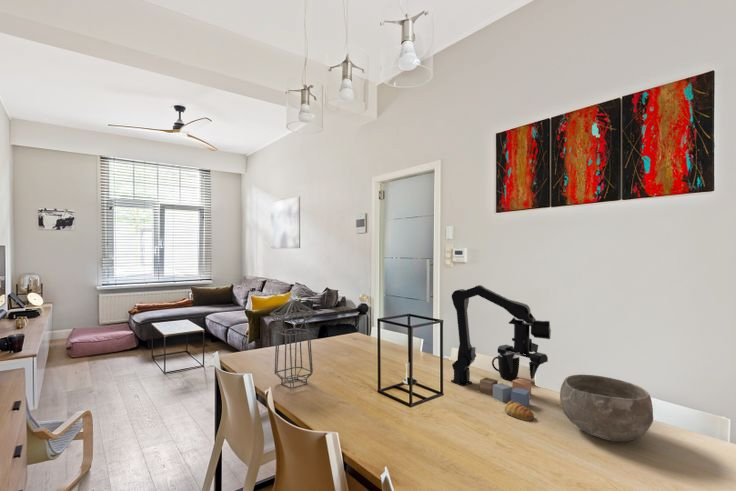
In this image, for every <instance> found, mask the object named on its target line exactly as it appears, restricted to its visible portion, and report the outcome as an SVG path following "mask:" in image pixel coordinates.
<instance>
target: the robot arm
mask: <svg viewBox="0 0 736 491" xmlns="http://www.w3.org/2000/svg"><path fill="white" fill-rule="evenodd" d="M476 296H479V297H481V298H483V299H485V300H487V301H488V302H491V303H493V304H495V305H496V306H499V307H501V308H503V309H504V310H506V311H507V312H508V313H509V314H510V315H511V316H513V318H512V319H511V320H510V321H508V324H510V325H513V337H512V338H511V341H512V342H513V346H512V345H509V344H503V345H499V346H498V347H497V353H498V354H499V353H500V356H502V357H503V359H504V361H505V363H506V365H507V367H508V369H509V371H510V372H512V371H513V357H514V354H516V355H519V357H524V358H527V359H528V358H529V361H530V362H528V365H529V375H530V379H531V380H533V379H534V378H535V376H536V373H537V370H538V368H539V367H540V365H542V364H544V363H547V362H549V361H548V356H547V354H546V353H543V352H542V353H541V352H538V349H539V344H537V343H535V342H533V340H532V338H530V337H531V336H530V335H532V337H533V338H534V339H536V338H537V339H542V340H543V339H545V340H550V339H551V332H552V329H551V325H550V323H551V321H550V320H537V319H536V318H535V317H534V315H533V314H532V312H531V307H530V306H529V305H528V304H527V303H526V304H525V303H524V302H519V301H516V300H512V299H509V298H507V297H505V296H502V295H500V293H499V294H498V293H496V292H495V291H492V290H490V289H488V288H487V287H485V286H483V285H481V284H479V285H476V286H473V287H470V288H468V289H464V288H463V289H461V288H460V289H456V290H454V291H453V292H452V294H451V300H452V304H453V306H454V308H455V311H456V319H457V329H458V339H459V340H458V341H459V345H458V349H457V350H458V351H457V359H456V360H455V361H454V362H453V363H452V369H453V379H451V380H450V382H452V383H454V384H457V385H460V386H465V385H469V384H473V381H471V379H470V375H471V374H470V373H471V371H470V366H471V364H472V363H474V362H475V360H476V357H477V354H476V346H474V347H473V346H472V344H471V337H470V328H469V327H470V326H469V319H468V317H469V316H468V308H469V302H470V299H471V298H473V297H476Z"/></svg>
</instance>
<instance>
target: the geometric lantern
mask: <svg viewBox="0 0 736 491" xmlns="http://www.w3.org/2000/svg"><path fill="white" fill-rule="evenodd" d="M280 309H281V310H280ZM278 310H280V311H279V312H277V311H278ZM297 311H298V312H299V313H300V314H299V315H298V314H297V313H298V312H297ZM304 313H305V315H304ZM294 314H295V315H294ZM315 314H318V311H316V310H314V309H312V308H311V307H309V306H307V305H305V304H303V303H302V302H300V301H298V300H297V299H291V300H289V301H288V302H285V303H284V304H282V305H281V306H279V307H278V308H276V309H275V310H272V311H271V312H270V313H269V315H270V317H271V318H272V320H274V322H275V324H280V326H279V329H278V330H276V333H275V351H274V353H275V356H274V357H275V358H274V375H275V376H277V377H278V378H279V379H280V381H281V385H283V386H285V387H287V388H288V389H295V388H298V387H301V386H305V385H308V379H309V378H310V377H311V376H312V374H314V372H313V371H314V370H313V356H312V355H313V354H312V341H311V330H309V326H308V325H307V324H309V320H311V318H312V317H313V316H314V315H315ZM287 315H288V316H287ZM274 317H275V318H274ZM299 317H303V321H299ZM277 318H278V319H277ZM294 318H296V320H297V321H296V320H295V319H294ZM280 319H281V320H280ZM286 320H287V321H288V320H289V322H290V323H291V324H292V326H293V328H289V329H285V328H284V326H283V325H284V324H283V323H284V321H286ZM306 321H307V322H306ZM293 322H294V323H295V325H294V323H293ZM300 324H301V326H300V327H298V328H297V327H296V326H297V325H300ZM303 326H305V328H302V327H303ZM281 329H282V330H281ZM293 330H295V333H292V331H293ZM297 330H299V331H298V332H297ZM287 331H290V332H288V333H287ZM301 331H304V332H301ZM305 331H306V332H305ZM283 332H284V333H283ZM291 333H292V334H291ZM302 334H303V335H304V334H306V339H307V349H308V351H307V352H308V361H309V369H308V368H306V367H303V356H302V355H303V354H302V336H301V335H302ZM280 335H283V336H284V337H285V338H284V340H285V341H284V369H280V370H279V369H278V368H279V367H278V366H279V352H280V337H281V336H280ZM297 335H298V336H299V354H300V366H297V345H298V344H297V343H298V342H297V339H298V338H297ZM291 336H295V337H294V338H295V341H294V342H295V344H294V349H295V350H294V366H293V363H292V361H293V360H292V358H293V357H292V341H291V340H292V338H291ZM288 337H289V343H288V344H289V359H290V360H289V361H290V367H287V346H288V345H287V342H288V341H287V338H288ZM293 369H294V374H293ZM297 369H299V371H298V373H297ZM302 369H303V370H306V371H308V372H310V373H306V374H301V375H300V372H301V370H302ZM288 370H290V375H288V376H287V371H288ZM281 372H284V376H282V375H280V373H281ZM300 378H301V379H300ZM302 378H303V379H302ZM295 380H296V381H295ZM291 381H292V382H291ZM299 382H302V383H303V384H299V385H296V386H295V383H299ZM285 383H289V385H287V384H285Z"/></svg>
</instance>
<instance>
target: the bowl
mask: <svg viewBox="0 0 736 491" xmlns="http://www.w3.org/2000/svg"><path fill="white" fill-rule="evenodd" d="M559 399H560V406H561V410H562V412H563V414H564V415H565V416H566V418H567V419H568V420H569V421H570V422H571V423H572V424H573V425H574V426H576V427H578V429H580V430H582V431H584V432H585V433H587V434H589V435H592V436H594V437H596V438H600V439H603V440H607V441H612V442H631V441H633V440H636V439H640V440H641V439H643V438H644V437H645V434H646V433H647V431H648V430H649V429H650V428H651V426H652V424H653V421H654V408H653V402H652V397H651V395H650V393H649V392H648V391H647V390H646V389H644V388H642V387H640V386H638V385H636V384H634V383H631V382H628V381H625V380H620V379H617V378H613V377H607V376H603V375H593V374H573V375H569V376H567V377H566V378H565V379H564V380H563V382H562V384H561V387H560V392H559Z"/></svg>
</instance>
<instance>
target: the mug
mask: <svg viewBox="0 0 736 491" xmlns="http://www.w3.org/2000/svg"><path fill="white" fill-rule="evenodd" d="M496 360H498V361H497V362H498V364H497V365H498V368H497V367H496V366H495V361H496ZM491 365H492V368H493V369H494V370H495V371H497V372H498V374H499V376H500V378H501V379H503V380H506V381H513V380H516V379H518V375H519V372H520V371H519V369H520V355H516V354H514V357H513V371H512V372H510V371H509V369H508V367H507V365H506V363H505V361H504V359H503V357H502V356H500V353H498V354H497V356H496V357H493V359H492V360H491Z"/></svg>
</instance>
